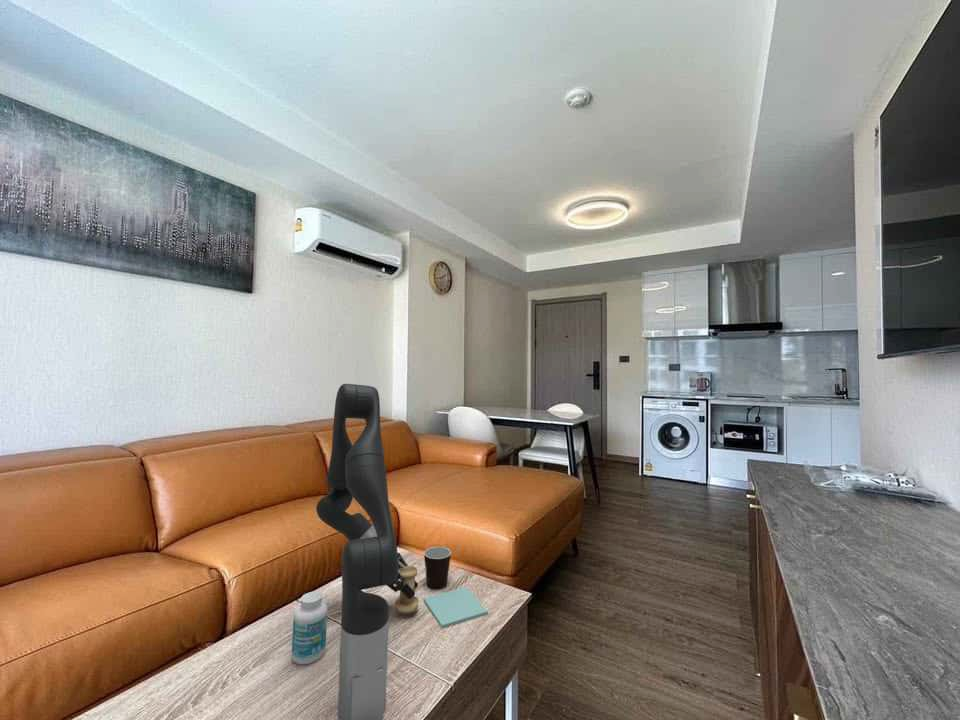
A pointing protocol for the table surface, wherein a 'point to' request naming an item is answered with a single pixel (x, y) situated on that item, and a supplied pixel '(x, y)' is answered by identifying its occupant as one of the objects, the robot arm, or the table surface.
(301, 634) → the pill bottle
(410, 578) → the tan chess pawn
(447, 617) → the mat
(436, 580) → the coffee mug
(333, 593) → the table surface
